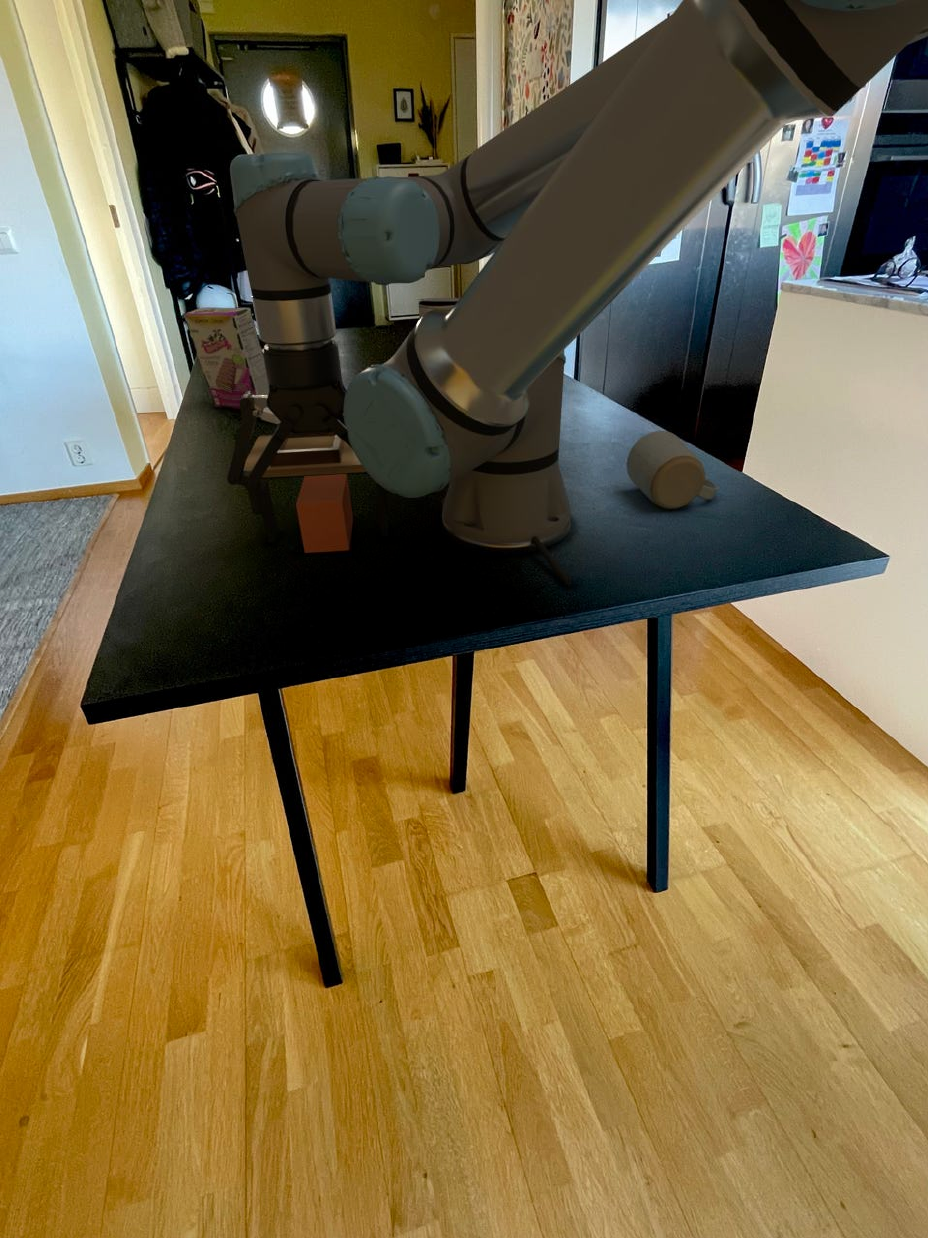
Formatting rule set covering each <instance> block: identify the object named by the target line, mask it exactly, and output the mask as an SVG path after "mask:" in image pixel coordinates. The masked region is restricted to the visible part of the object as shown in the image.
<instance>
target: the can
mask: <svg viewBox="0 0 928 1238" xmlns="http://www.w3.org/2000/svg"><path fill="white" fill-rule="evenodd" d="M460 298H461V297H459V298H458V297H427V298H426V297H425V298H417V301H418V314H419V315H418V316H419V319H418V320H420V319H421V318H422V317H423V316H424V315H425V314H426V313H427V312H429V311H431V310H433V309H436V308H453V307H454V306H455V304H456V303H457V302H458V300H459V299H460Z"/></svg>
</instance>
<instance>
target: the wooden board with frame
mask: <svg viewBox="0 0 928 1238" xmlns="http://www.w3.org/2000/svg"><path fill="white" fill-rule="evenodd" d="M272 435H273V434H271V435H270V434H269V435H259V436H258V437H257V439H256V441H255V442H254V444H253V446H252V448H251V450H250V452H249V453H248V455H247V459H246V462H245V466H244V470H245V471H249V472H251V470H252V469H253V467H254V465H255V464H256V462H257V460H258V459H259V457H260V455H261V454H262V452H263V450H264V449H265V447H266V445H267V444H268V442H269V440H270V439H271V437H272ZM355 473H357V474H358V473H367V471H366V470H365V469H364V468H363V466H362V465H361V463H360V462H359V460H358V458H357V457H356V455H355V453H354V451H353V449H352V448H351V447H350V446H349V445H348V444H347V443H346V442H345V441H344V440H342V439H340V438H339V437H338V436H337V435H336V434H335V433H334V432H333V431H332V432H330V433H328V434H327V435H321V436H320V435H315V434H311V435H308V436H302V437H298V435H296V434H294V433H292V432H290V433H289V435H288V436H287V438H286V439H285V441H284V443H283V444H282V445H281V447H280V449H279V450H278V452H277V454H276V455H275V457H274V459H273V460H272V462H271V463H270V465H269V467H268V468H267V470H266V472H265V473H264V475H263V477H262V478H261V479H267V478H285V477H287V478H288V477H302V476H303V477H305V476H319V475H337V474H355Z"/></svg>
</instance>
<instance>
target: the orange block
mask: <svg viewBox="0 0 928 1238" xmlns="http://www.w3.org/2000/svg"><path fill="white" fill-rule="evenodd" d="M295 506H296V513H297V517H298V518H297V519H298V523H299V529H300V535H301V541H302V545H303V551H304V553H305V554H311V553H328V552H344V551H350V546H351V539H352V530H353V524H354V523H353V522H354V517H353V509H352V502H351V494H350V487H349V479H348V473H340V474H323V475H305V476H303V480H302V483H301V486H300V490H299V493H298V497H297V500H296V503H295Z"/></svg>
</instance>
